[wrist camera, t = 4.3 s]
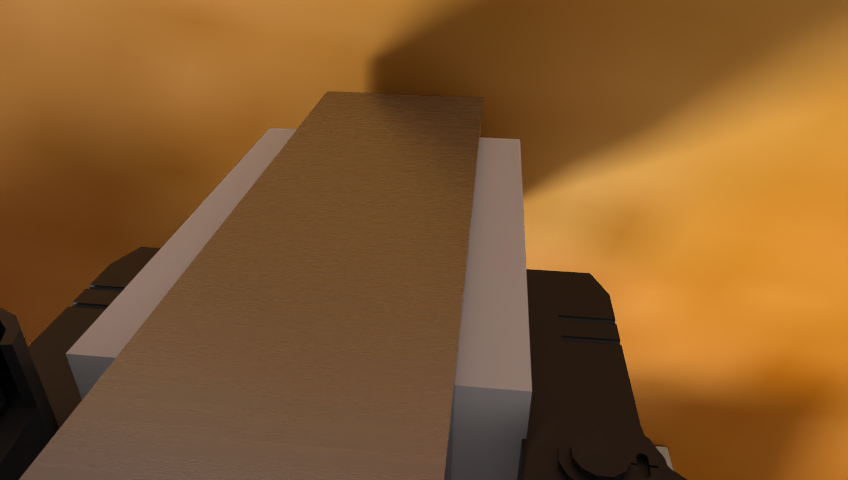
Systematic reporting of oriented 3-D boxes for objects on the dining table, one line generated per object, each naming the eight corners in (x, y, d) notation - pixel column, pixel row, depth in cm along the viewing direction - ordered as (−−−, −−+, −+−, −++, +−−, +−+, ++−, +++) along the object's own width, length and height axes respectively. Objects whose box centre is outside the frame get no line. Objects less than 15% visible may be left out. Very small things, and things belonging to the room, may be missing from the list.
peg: (327, 91, 13) (-309, 892, 3) (483, 97, 13) (389, 1014, 3) (336, 227, 15) (-50, 1050, 5) (475, 235, 15) (401, 1136, 4)
